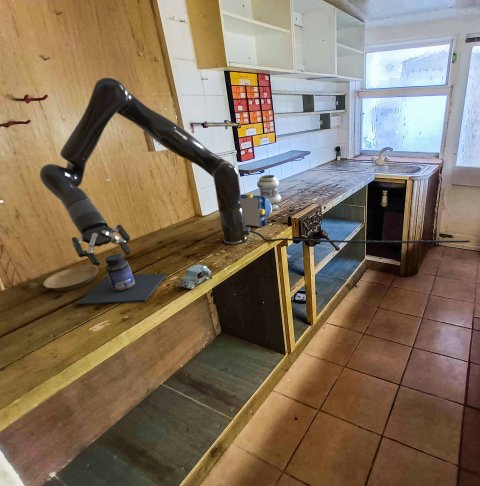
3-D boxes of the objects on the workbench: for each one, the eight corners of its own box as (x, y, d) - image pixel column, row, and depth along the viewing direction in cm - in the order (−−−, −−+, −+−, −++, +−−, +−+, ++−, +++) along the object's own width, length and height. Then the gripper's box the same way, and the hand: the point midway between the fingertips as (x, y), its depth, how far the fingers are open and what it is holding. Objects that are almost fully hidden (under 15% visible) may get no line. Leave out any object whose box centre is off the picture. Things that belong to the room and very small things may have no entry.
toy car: (179, 289, 100) (175, 275, 98) (202, 274, 108) (199, 262, 106) (194, 293, 97) (190, 279, 95) (216, 278, 106) (214, 265, 104)
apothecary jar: (255, 210, 172) (251, 178, 164) (267, 204, 182) (264, 173, 174) (274, 212, 167) (271, 179, 160) (285, 206, 177) (282, 174, 170)
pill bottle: (139, 283, 102) (130, 253, 98) (123, 293, 97) (112, 262, 93) (125, 281, 104) (115, 251, 100) (109, 290, 99) (97, 259, 94)
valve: (261, 227, 146) (260, 195, 142) (235, 224, 151) (233, 193, 147) (276, 222, 158) (275, 192, 154) (251, 219, 163) (249, 190, 159)
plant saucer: (41, 284, 105) (38, 278, 104) (92, 267, 115) (90, 261, 114) (52, 300, 96) (49, 293, 95) (106, 280, 106) (103, 273, 105)
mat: (166, 274, 109) (166, 273, 108) (145, 301, 94) (145, 299, 94) (108, 278, 108) (107, 276, 107) (77, 305, 93) (76, 303, 93)
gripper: (59, 218, 91) (88, 262, 90) (112, 205, 101) (139, 245, 100) (60, 231, 96) (87, 273, 95) (110, 218, 107) (135, 256, 105)
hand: (113, 259), depth 97 cm, fingers open, 8 cm apart
